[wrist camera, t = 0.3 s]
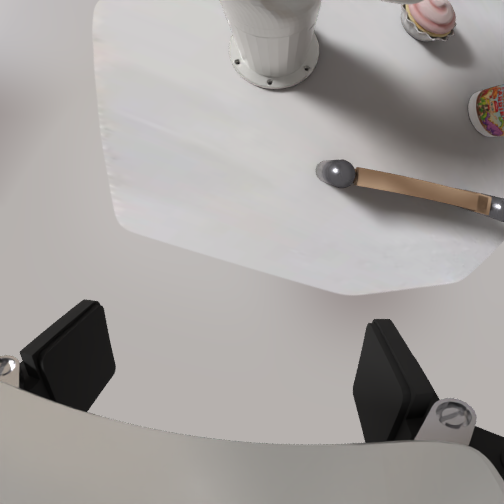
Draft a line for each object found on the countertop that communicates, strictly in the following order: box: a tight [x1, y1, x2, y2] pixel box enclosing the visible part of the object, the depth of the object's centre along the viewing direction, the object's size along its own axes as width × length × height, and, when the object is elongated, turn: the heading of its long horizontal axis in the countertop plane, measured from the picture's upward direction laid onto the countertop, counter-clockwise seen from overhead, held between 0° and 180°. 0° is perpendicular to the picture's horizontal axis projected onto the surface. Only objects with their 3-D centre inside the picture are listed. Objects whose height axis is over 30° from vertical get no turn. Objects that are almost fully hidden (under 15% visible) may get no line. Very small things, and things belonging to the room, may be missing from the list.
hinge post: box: [316, 160, 355, 188], centre depth 37 cm, size 3×3×11 cm
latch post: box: [463, 190, 504, 222], centre depth 36 cm, size 3×3×11 cm
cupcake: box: [401, 0, 456, 41], centre depth 29 cm, size 9×9×10 cm
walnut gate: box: [353, 167, 492, 215], centre depth 36 cm, size 2×19×9 cm, turn 84°
